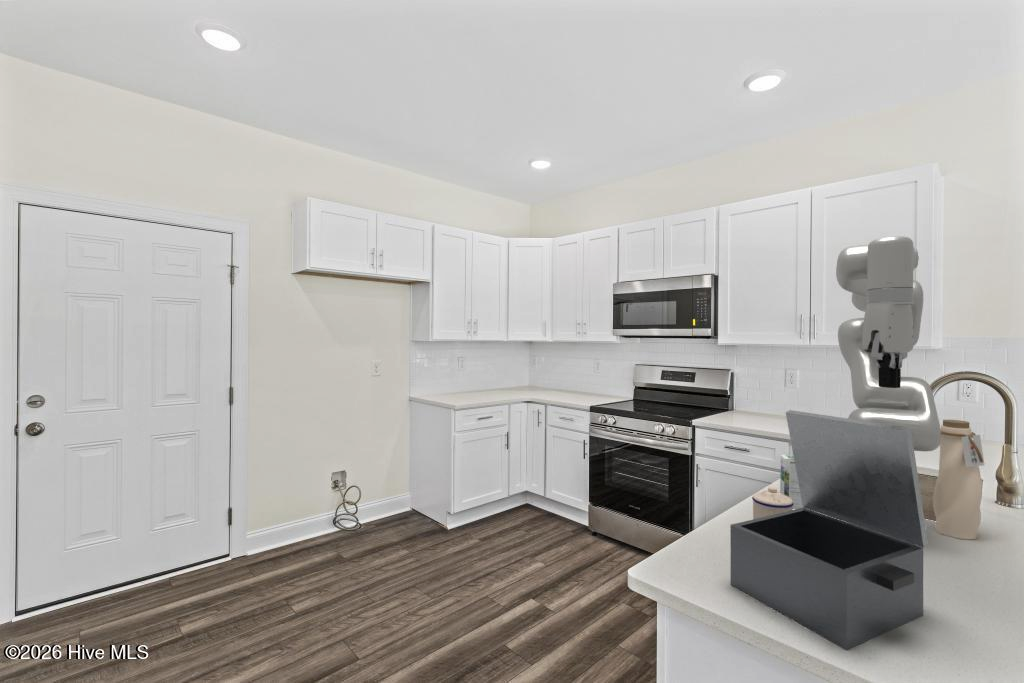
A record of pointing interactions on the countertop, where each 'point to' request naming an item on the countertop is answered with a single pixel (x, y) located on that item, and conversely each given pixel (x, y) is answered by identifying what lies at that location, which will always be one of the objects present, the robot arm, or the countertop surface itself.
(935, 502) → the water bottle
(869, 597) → the grey lidded box
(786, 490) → the syrup box
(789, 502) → the teacup with lid
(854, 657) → the countertop surface
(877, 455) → the cooker lid
